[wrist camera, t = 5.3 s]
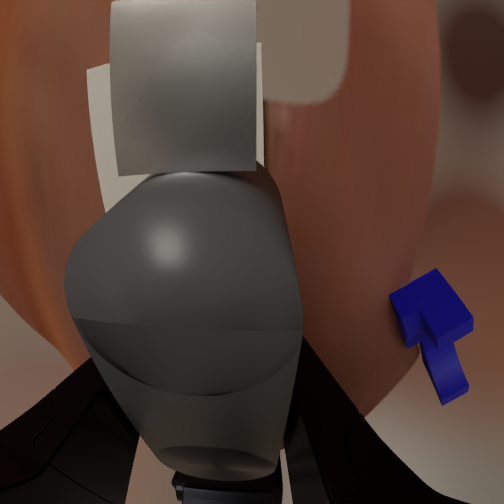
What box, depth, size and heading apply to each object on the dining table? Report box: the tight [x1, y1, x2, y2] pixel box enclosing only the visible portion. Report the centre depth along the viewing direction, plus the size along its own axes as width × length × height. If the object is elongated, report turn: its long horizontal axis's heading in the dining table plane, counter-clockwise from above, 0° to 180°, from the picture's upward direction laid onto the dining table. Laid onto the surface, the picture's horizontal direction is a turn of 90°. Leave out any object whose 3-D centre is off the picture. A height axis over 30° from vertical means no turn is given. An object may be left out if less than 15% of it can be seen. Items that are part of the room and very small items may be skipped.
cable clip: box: [389, 268, 473, 405], centre depth 20 cm, size 12×4×6 cm, turn 31°
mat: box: [87, 43, 264, 212], centre depth 17 cm, size 16×10×1 cm, turn 2°
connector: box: [64, 0, 304, 481], centre depth 6 cm, size 4×12×4 cm, turn 0°
